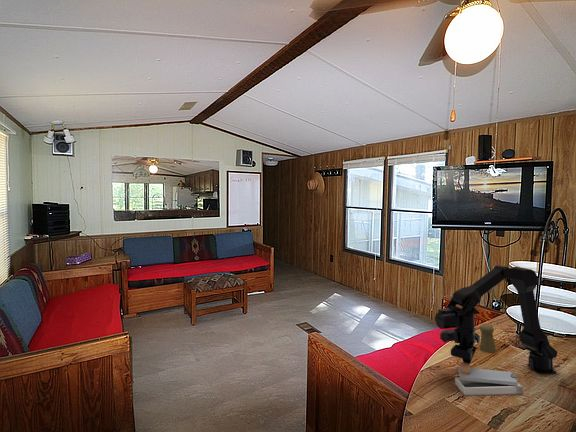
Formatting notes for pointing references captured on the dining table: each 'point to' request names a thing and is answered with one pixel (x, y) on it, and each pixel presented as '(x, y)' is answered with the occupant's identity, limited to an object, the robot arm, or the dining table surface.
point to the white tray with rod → (486, 388)
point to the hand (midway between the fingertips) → (466, 367)
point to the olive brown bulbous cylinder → (487, 339)
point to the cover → (486, 375)
